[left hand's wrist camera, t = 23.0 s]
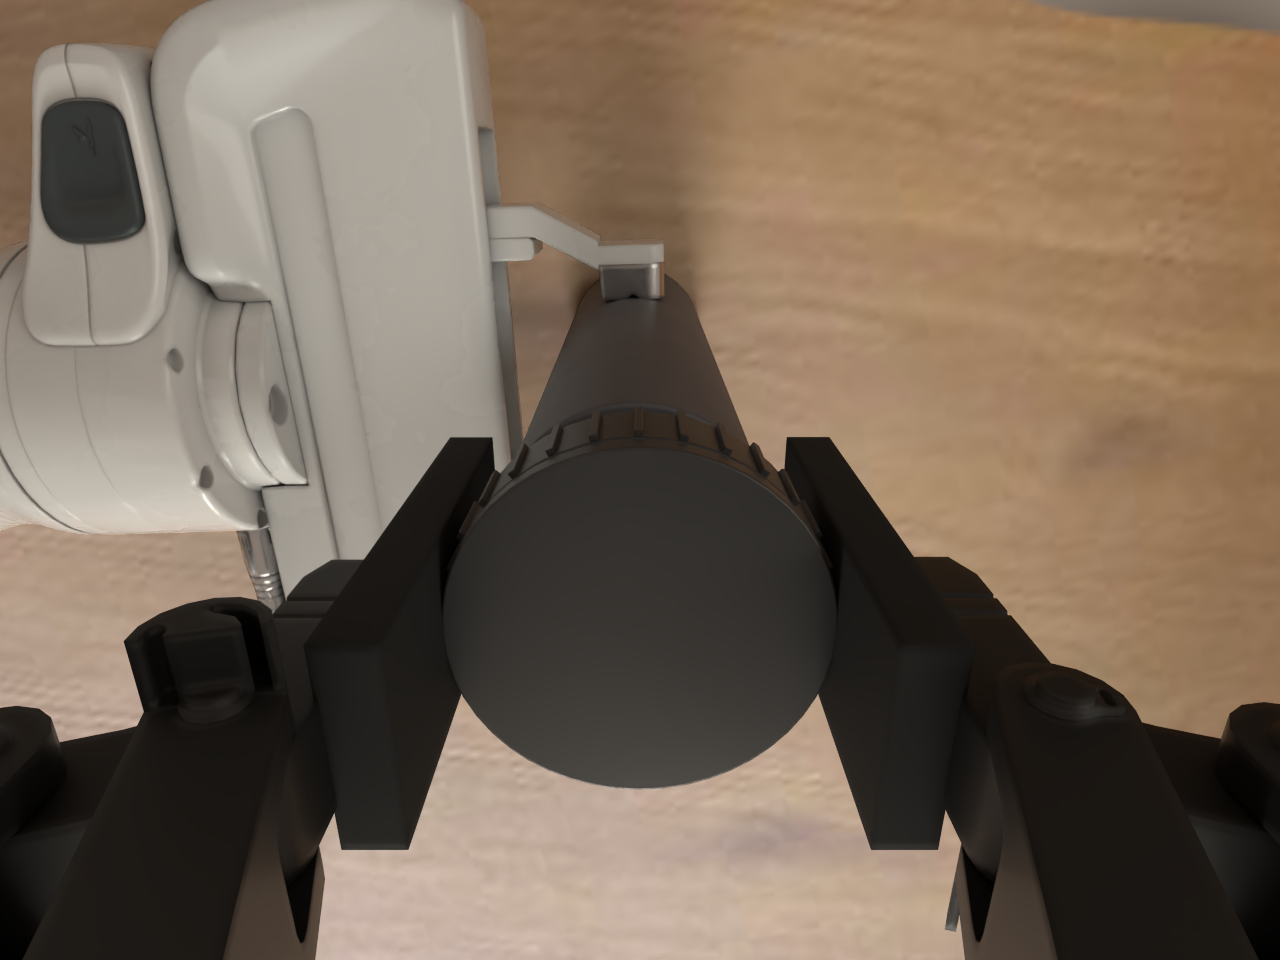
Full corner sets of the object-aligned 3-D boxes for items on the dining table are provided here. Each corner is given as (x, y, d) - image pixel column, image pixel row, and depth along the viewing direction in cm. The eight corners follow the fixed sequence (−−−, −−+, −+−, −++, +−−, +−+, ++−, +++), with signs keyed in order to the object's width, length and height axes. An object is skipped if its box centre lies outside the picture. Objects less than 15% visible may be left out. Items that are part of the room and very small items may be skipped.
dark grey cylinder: (717, 357, 29) (833, 631, 12) (610, 409, 30) (573, 738, 13) (664, 244, 28) (709, 374, 11) (552, 302, 29) (423, 513, 11)
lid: (384, 548, 12) (347, 602, 10) (677, 325, 10) (683, 351, 9) (609, 775, 13) (606, 851, 12) (886, 605, 12) (921, 666, 11)
